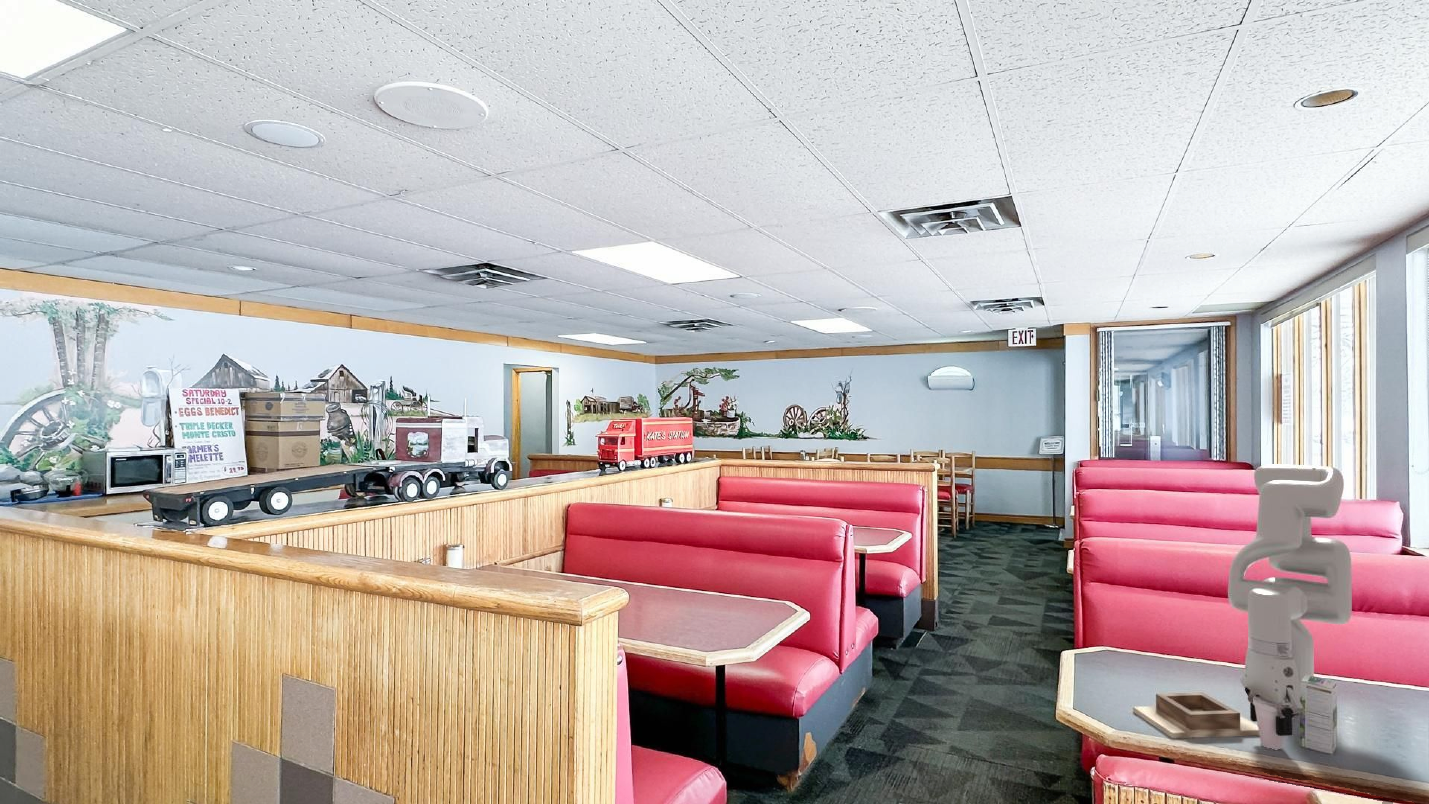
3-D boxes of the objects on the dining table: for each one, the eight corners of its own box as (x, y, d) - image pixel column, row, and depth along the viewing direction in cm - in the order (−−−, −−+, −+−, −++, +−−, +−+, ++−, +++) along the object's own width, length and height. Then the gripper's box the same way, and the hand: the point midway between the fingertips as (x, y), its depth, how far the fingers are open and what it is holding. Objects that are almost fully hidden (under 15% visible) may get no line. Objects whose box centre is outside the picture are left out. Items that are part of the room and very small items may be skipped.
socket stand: (1219, 709, 176) (1219, 690, 176) (1265, 735, 162) (1265, 714, 162) (1133, 711, 175) (1132, 692, 175) (1172, 738, 161) (1172, 717, 161)
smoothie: (1296, 754, 153) (1295, 689, 153) (1262, 751, 154) (1262, 687, 154) (1279, 740, 159) (1278, 677, 159) (1247, 738, 161) (1246, 676, 161)
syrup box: (1303, 738, 160) (1302, 673, 160) (1338, 747, 156) (1337, 680, 156) (1299, 746, 157) (1298, 680, 157) (1334, 755, 152) (1333, 688, 152)
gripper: (1321, 659, 149) (1322, 746, 148) (1254, 633, 166) (1255, 710, 166) (1286, 660, 148) (1287, 747, 148) (1223, 634, 165) (1224, 711, 165)
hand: (1270, 727), depth 157 cm, fingers closed on smoothie, 6 cm apart
